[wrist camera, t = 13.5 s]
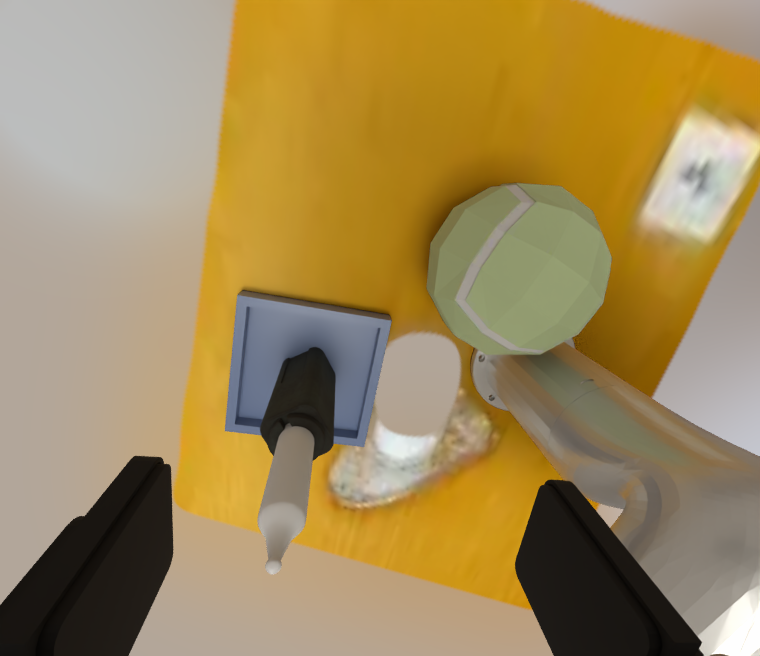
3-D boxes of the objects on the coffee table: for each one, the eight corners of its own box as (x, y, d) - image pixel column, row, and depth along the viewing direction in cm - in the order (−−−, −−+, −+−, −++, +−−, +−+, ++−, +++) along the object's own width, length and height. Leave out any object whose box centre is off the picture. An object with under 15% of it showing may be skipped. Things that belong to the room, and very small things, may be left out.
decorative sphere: (577, 236, 43) (694, 256, 28) (495, 346, 46) (564, 413, 32) (470, 156, 39) (543, 133, 25) (390, 282, 42) (414, 325, 28)
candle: (319, 343, 43) (293, 520, 20) (339, 380, 45) (336, 584, 21) (278, 361, 43) (202, 558, 20) (299, 398, 45) (253, 619, 21)
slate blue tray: (389, 314, 43) (391, 320, 41) (362, 436, 48) (363, 446, 46) (242, 290, 41) (237, 295, 39) (230, 420, 46) (224, 431, 44)
